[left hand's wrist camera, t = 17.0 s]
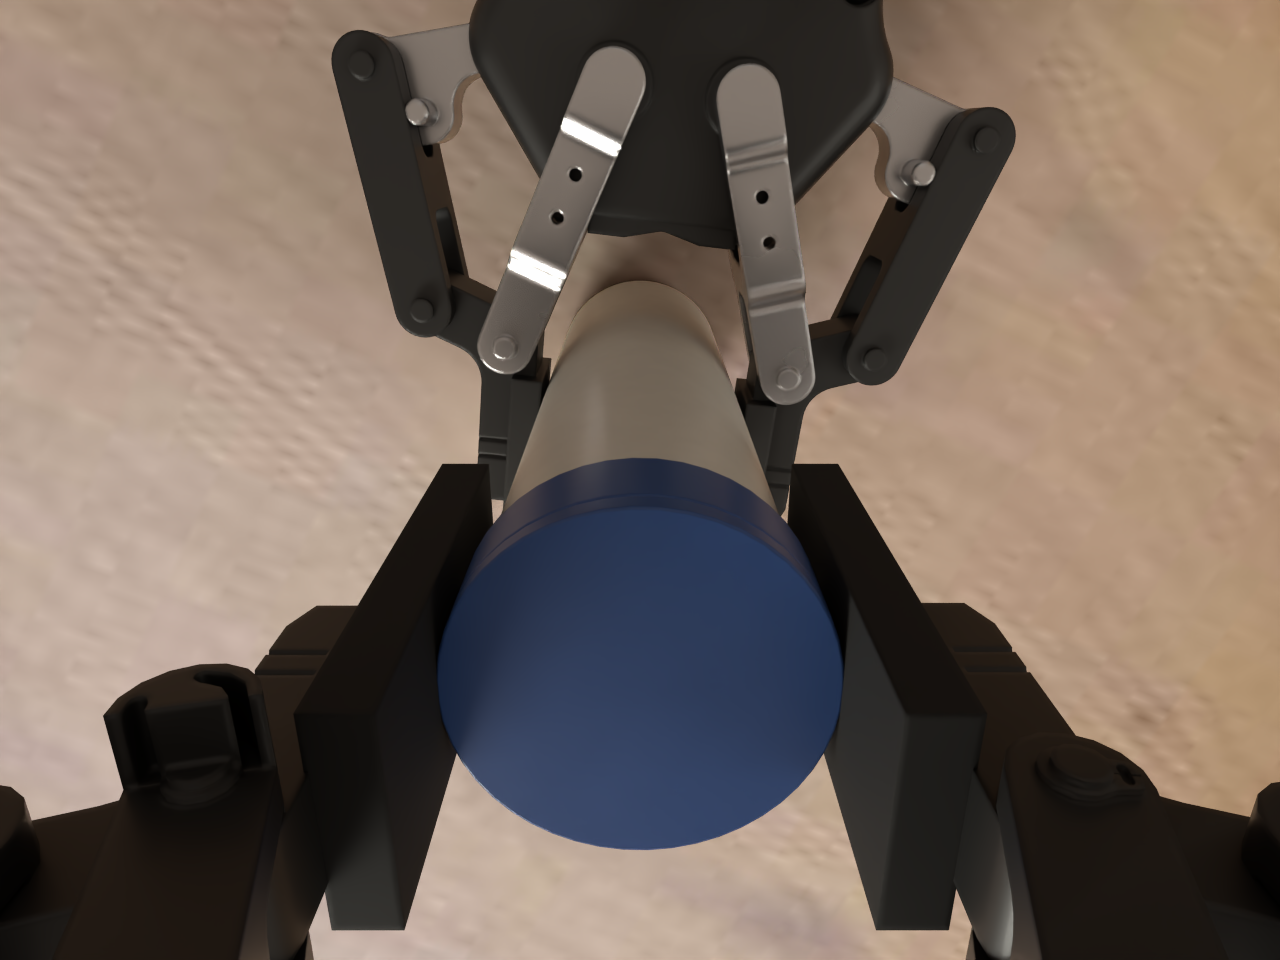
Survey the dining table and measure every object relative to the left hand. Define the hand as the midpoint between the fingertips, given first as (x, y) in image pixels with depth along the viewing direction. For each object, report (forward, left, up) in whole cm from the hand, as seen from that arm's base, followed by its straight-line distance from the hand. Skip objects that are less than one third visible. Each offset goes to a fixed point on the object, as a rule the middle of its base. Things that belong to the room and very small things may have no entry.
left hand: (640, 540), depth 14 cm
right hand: (-2, +2, -7) cm, 7 cm away
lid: (0, 0, +4) cm, 4 cm away
